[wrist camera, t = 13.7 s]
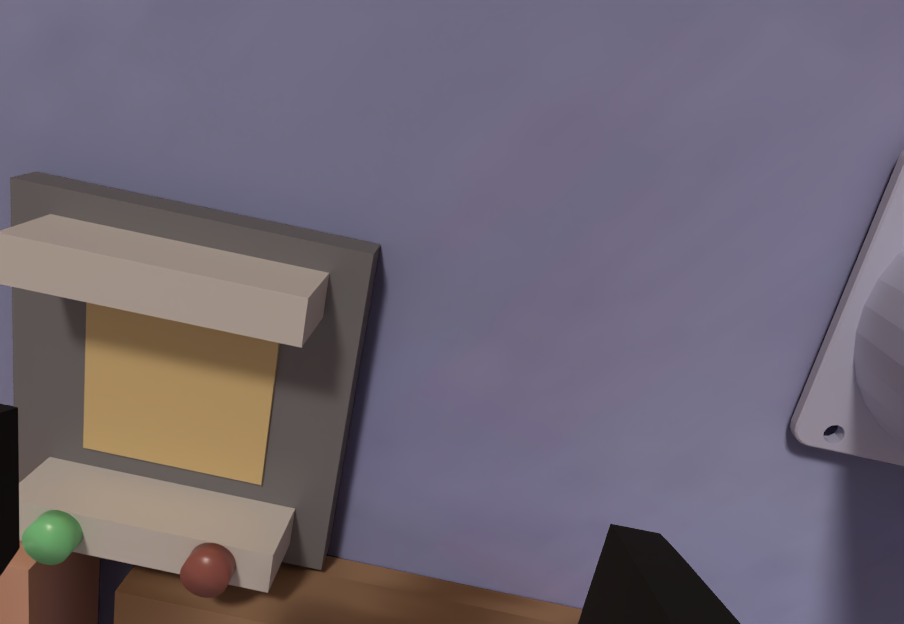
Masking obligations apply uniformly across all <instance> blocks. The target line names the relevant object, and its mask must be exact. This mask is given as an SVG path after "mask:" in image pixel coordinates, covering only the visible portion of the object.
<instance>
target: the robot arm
mask: <svg viewBox="0 0 904 624" xmlns="http://www.w3.org/2000/svg"><path fill="white" fill-rule="evenodd" d="M832 425H838V428H837V430H836V431H835V433H833V434H831V435H829V436H823V435H824V431H825V430H826V429H827V428H828V427H830V426H832ZM790 428H791V432H792V434H793V435H794V436H795V437H796V439H797V440H798V441H799V442H800V443H802V444H804V445H807V446H811V447H815V448H820V449H825V450H829V451H834V452H839V453H844V454H848V455H853V456H858V457H863V458H867V459H872V460H877V461H882V462H886V463H891V464H896V465H901V466H904V149H903V151H902V153H901V154H900V156H899V158H898V161H897V163H896V165H895V168H894V170H893V173H892V175H891V178H890V180H889V183H888V185H887V187H886V190H885V192H884V195H883V197H882V200H881V202H880V205H879V207H878V209H877V212H876V214H875V217H874V219H873V222H872V224H871V226H870V229H869V231H868V234H867V236H866V239H865V241H864V244H863V246H862V248H861V251H860V253H859V256H858V258H857V261H856V263H855V265H854V268H853V270H852V273H851V275H850V278H849V280H848V283H847V285H846V287H845V290H844V292H843V295H842V297H841V300H840V302H839V305H838V307H837V309H836V312H835V314H834V317H833V319H832V322H831V324H830V326H829V329H828V331H827V334H826V336H825V339H824V341H823V344H822V346H821V348H820V351H819V353H818V356H817V358H816V361H815V363H814V365H813V368H812V370H811V373H810V375H809V378H808V380H807V383H806V385H805V387H804V390H803V392H802V395H801V397H800V400H799V402H798V404H797V407H796V409H795V412H794V414H793V417H792V419H791V424H790ZM19 548H20V538H19V444H18V407H14V406H9V405H4V404H0V576H1V574H2V573H3V572H4V570H5V569H6V567H7V566H8V564H9V563H10V561H11V560H12V559H13V557H14V556H15V554H16V553H17V551H18V550H19ZM578 624H740V623H739V621H738V620H737V619H736V618H735V617H734V616H733V615H732V613H731V612H730V611H729V610H728V609H727V608H726V607H725V605H724V604H723V603H722V602H721V601H720V600H719V599H718V597H717V596H716V595H715V594H714V593H713V592H712V591H711V589H710V588H709V587H708V586H707V585H706V584H705V583H704V581H703V580H702V579H701V578H700V577H699V576H698V575H697V573H696V572H695V571H694V570H693V569H692V568H691V567H690V565H689V564H688V563H687V562H686V561H685V560H684V559H683V558H682V556H681V555H680V554H679V553H678V552H677V551H676V550H675V549H674V548H673V547H672V545H671V544H670V543H669V542H668V541H667V540H666V539H665V538H664V537H663V536H662V535H661V534H659V533H654V532H649V531H644V530H639V529H634V528H629V527H624V526H619V525H614V524H610V527H609V530H608V534H607V537H606V540H605V543H604V546H603V549H602V552H601V555H600V558H599V561H598V564H597V567H596V570H595V573H594V576H593V579H592V582H591V585H590V588H589V591H588V594H587V597H586V600H585V604H584V607H583V610H582V613H581V616H580V619H579V622H578Z"/></svg>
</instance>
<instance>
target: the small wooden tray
mask: <svg viewBox="0 0 904 624" xmlns="http://www.w3.org/2000/svg"><path fill="white" fill-rule="evenodd" d="M99 571H100V557H96V556H91V555H86V554H81V553H77V552H72V553H71V554H70V555H69V556H68V557H67V558H66V559H65V560H64V561H63V562H61V563H59V564H56V565H46V564H42V563H39V562H37V561H35V560H34V559H32V558H31V557H30V556H29V555H28V554H27V553H26V551H25V550H24V548H23V545H22V541H20V548H19V550H18V551H17V553H16V554H15V556H14V557H13V559H12V560H11V561H10V563H9V564H8V566H7V567H6V569H5V570H4V572H3V573H2V574H1V576H0V624H98V600H99Z"/></svg>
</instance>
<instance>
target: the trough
mask: <svg viewBox="0 0 904 624" xmlns="http://www.w3.org/2000/svg"><path fill="white" fill-rule="evenodd" d="M582 610H583V609H578V608H573V607H568V606H564V605H559V604H554V603H549V602H545V601H540V600H535V599H530V598H526V597H521V596H516V595H511V594H507V593H502V592H497V591H492V590H488V589H483V588H478V587H473V586H469V585H464V584H459V583H454V582H450V581H445V580H440V579H435V578H431V577H426V576H421V575H416V574H412V573H407V572H402V571H397V570H393V569H388V568H383V567H378V566H374V565H369V564H364V563H359V562H354V561H350V560H345V559H340V558H335V557H331V556H326V558H325V561H324V564H323V566H322V569H321V570H318V569H313V568H308V567H303V566H299V565H294V564H289V563H284V562H282V563H281V565H280V567H279V569H278V571H277V574H276V576H275V578H274V580H273V583H272V585H271V587H270V589H269V592H268V593H267V592H262V591H257V590H252V589H248V588H243V587H238V586H233V585H229V584H228V585H227V587H226V589H225V591H224V592H223V593H222V594H220V595H219V596H216V597H212V598H203V597H199V596H196V595H194V594H192V593H191V592H189V591H188V590H187V589H186V588H185V587H184V585H183V584H182V582H181V579H180V574H176V573H172V572H167V571H162V570H157V569H153V568H148V567H143V566H138V565H134V566H133V568H132V569H131V570H130V572H129V573H128V575H127V576H126V577H125V579H124V580H123V581H122V583H121V584H120V585H119V587H118V588H117V589H116V591H115V603H114V624H578V622H579V619H580V616H581V613H582Z"/></svg>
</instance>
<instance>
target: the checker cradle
mask: <svg viewBox="0 0 904 624" xmlns="http://www.w3.org/2000/svg"><path fill="white" fill-rule="evenodd" d="M10 189H11V227H10V228H7V229H4V230H0V284H2V285H7V286H12V319H13V384H14V407H18V444H19V538H20V541H22V545H23V548H24V550H25V551H26V553H27V554H28V555H29V556H30V557H31V558H32V559H34V560H35V561H37V562H39V563H42V564H46V565H56V564H59V563H61V562H63V561H64V560H65V559H66V558H67V557H68V556H69V555H70V554H71V553H72V552H77V553H81V554H86V555H91V556H96V557H100V558H105V559H110V560H115V561H119V562H124V563H129V564H134V565H138V566H143V567H148V568H153V569H157V570H162V571H167V572H172V573H176V574H180V579H181V582H182V584H183V585H184V587H185V588H186V589H187V590H188V591H189V592H191V593H192V594H194V595H196V596H199V597H203V598H212V597H216V596H219V595H220V594H222V593H223V592H224V591H225V589H226V587H227V585H228V584H229V585H233V586H238V587H243V588H248V589H252V590H257V591H262V592H267V593H268V592H269V589H270V587H271V585H272V583H273V580H274V578H275V576H276V574H277V571H278V569H279V567H280V565H281V563H282V562H284V563H289V564H294V565H299V566H303V567H308V568H313V569H318V570H321V569H322V566H323V564H324V561H325V558H326V555H327V552H328V550H329V546H330V540H331V534H332V528H333V522H334V516H335V510H336V504H337V498H338V492H339V486H340V481H341V475H342V469H343V463H344V457H345V451H346V445H347V439H348V433H349V427H350V421H351V415H352V410H353V404H354V398H355V392H356V386H357V380H358V374H359V368H360V362H361V356H362V350H363V344H364V339H365V333H366V327H367V321H368V315H369V309H370V303H371V297H372V291H373V285H374V279H375V273H376V267H377V262H378V256H379V250H380V244H376V243H371V242H366V241H362V240H357V239H352V238H347V237H343V236H338V235H333V234H328V233H324V232H319V231H314V230H310V229H305V228H300V227H295V226H291V225H286V224H281V223H276V222H272V221H267V220H262V219H257V218H253V217H248V216H243V215H239V214H234V213H229V212H224V211H220V210H215V209H210V208H205V207H201V206H196V205H191V204H186V203H182V202H177V201H172V200H168V199H163V198H158V197H153V196H149V195H144V194H139V193H134V192H130V191H125V190H120V189H115V188H111V187H106V186H101V185H97V184H92V183H87V182H82V181H78V180H73V179H68V178H63V177H59V176H54V175H49V174H44V173H40V172H33V173H28V174H24V175H19V176H15V177H11V178H10Z"/></svg>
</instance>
